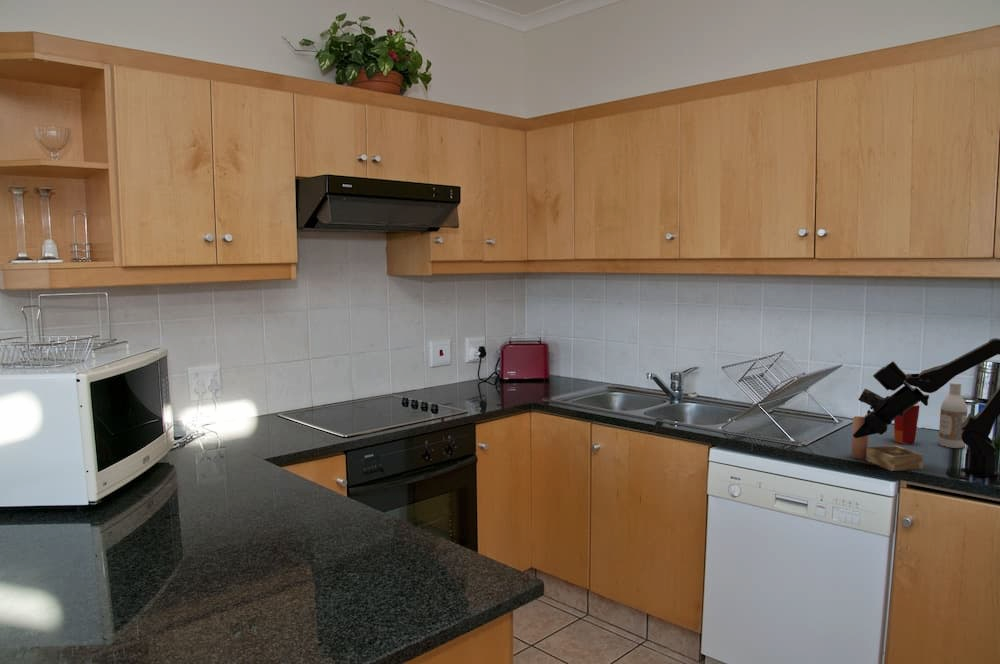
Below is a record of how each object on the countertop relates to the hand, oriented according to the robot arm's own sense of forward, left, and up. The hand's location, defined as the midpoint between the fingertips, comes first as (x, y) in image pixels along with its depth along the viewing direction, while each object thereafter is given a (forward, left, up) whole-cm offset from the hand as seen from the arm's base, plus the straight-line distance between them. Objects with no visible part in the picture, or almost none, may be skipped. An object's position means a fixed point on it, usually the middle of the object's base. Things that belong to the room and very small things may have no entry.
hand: (855, 435), depth 209 cm
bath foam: (+4, -38, -7) cm, 38 cm away
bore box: (-9, -6, -7) cm, 13 cm away
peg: (-1, -1, -7) cm, 7 cm away
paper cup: (+11, -27, -7) cm, 29 cm away
